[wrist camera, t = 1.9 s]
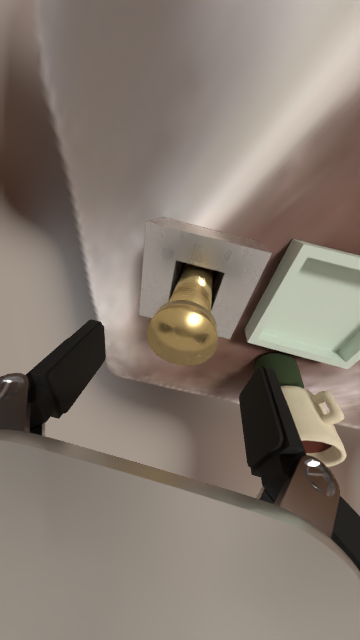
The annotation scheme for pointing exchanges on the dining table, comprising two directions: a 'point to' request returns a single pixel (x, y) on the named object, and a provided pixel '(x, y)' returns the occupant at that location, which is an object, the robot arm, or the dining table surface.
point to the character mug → (308, 410)
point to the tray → (311, 306)
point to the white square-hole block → (205, 251)
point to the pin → (186, 321)
